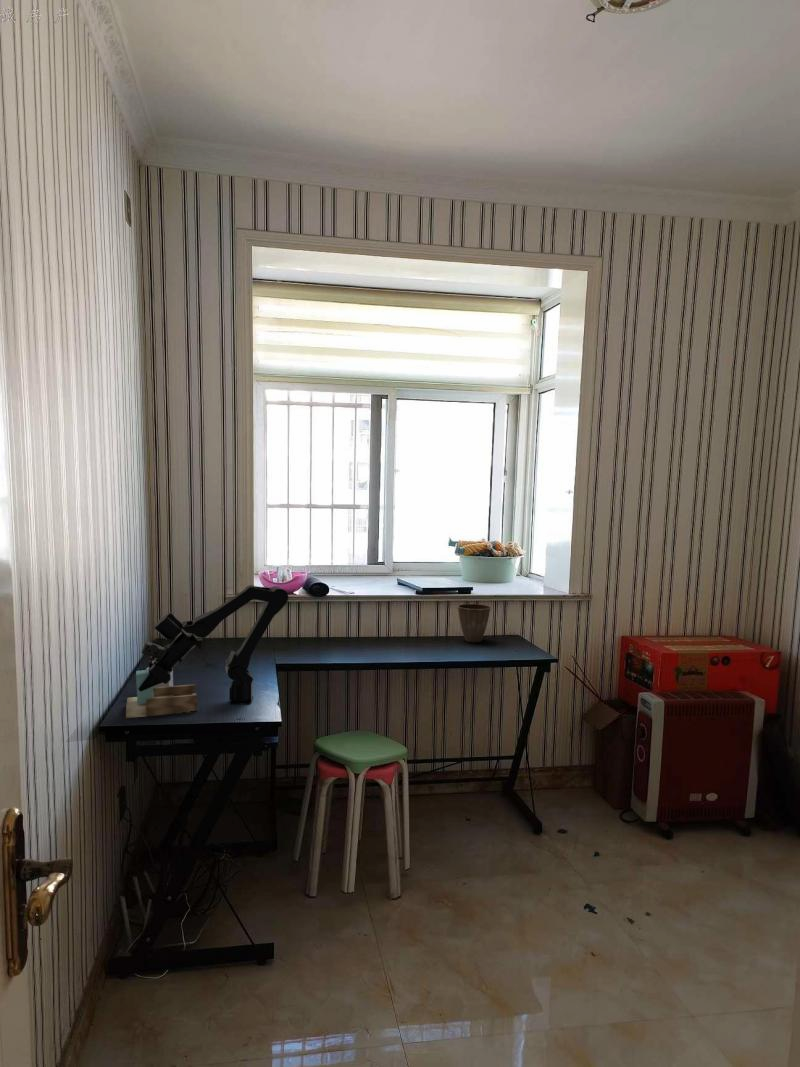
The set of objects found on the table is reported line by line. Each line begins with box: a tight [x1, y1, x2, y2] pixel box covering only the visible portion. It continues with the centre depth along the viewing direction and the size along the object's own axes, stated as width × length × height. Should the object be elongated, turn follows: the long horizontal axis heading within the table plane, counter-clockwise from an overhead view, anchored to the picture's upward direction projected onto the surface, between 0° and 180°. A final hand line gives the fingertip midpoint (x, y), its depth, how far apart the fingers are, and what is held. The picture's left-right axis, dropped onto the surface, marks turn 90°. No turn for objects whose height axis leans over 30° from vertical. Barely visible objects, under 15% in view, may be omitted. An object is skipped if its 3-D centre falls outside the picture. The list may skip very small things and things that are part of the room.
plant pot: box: [457, 603, 491, 643], centre depth 303 cm, size 15×15×16 cm
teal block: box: [135, 669, 154, 704], centre depth 199 cm, size 4×4×9 cm
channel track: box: [125, 683, 198, 719], centre depth 201 cm, size 20×12×5 cm, turn 110°
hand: (139, 688), depth 199 cm, fingers closed on teal block, 4 cm apart
